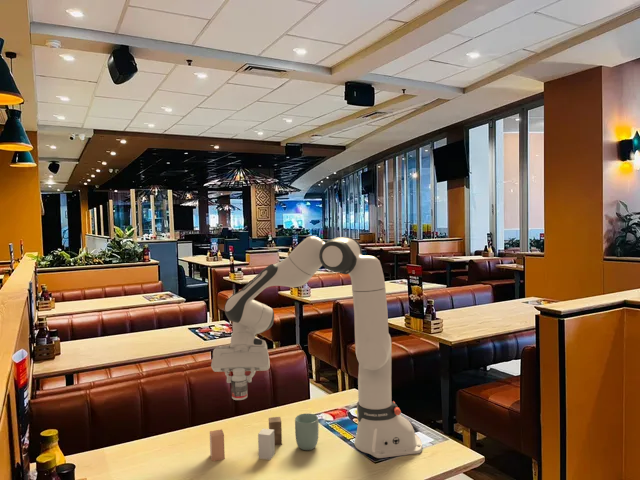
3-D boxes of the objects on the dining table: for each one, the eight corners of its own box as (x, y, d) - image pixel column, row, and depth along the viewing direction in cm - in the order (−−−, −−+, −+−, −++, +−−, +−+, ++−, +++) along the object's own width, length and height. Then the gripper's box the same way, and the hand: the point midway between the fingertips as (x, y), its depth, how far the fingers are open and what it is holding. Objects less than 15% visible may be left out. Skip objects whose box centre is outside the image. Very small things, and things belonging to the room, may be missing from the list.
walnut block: (280, 439, 165) (280, 416, 164) (281, 444, 161) (281, 421, 160) (269, 440, 164) (268, 417, 163) (270, 445, 160) (269, 422, 159)
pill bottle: (231, 395, 164) (230, 367, 164) (246, 394, 166) (246, 366, 165) (232, 401, 159) (231, 372, 159) (248, 399, 160) (247, 371, 160)
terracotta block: (222, 452, 156) (222, 429, 155) (224, 458, 152) (223, 434, 151) (210, 455, 154) (209, 431, 154) (212, 461, 151) (211, 436, 150)
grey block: (274, 453, 155) (274, 429, 154) (270, 459, 151) (269, 435, 150) (263, 452, 156) (262, 428, 155) (258, 458, 152) (258, 433, 151)
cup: (316, 454, 154) (315, 424, 153) (293, 452, 155) (292, 422, 155) (320, 442, 161) (320, 414, 161) (298, 441, 163) (298, 412, 162)
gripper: (212, 341, 168) (206, 378, 159) (269, 340, 168) (267, 377, 159) (215, 350, 173) (210, 386, 164) (271, 349, 173) (269, 385, 164)
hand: (239, 381), depth 161 cm, fingers closed on pill bottle, 5 cm apart
